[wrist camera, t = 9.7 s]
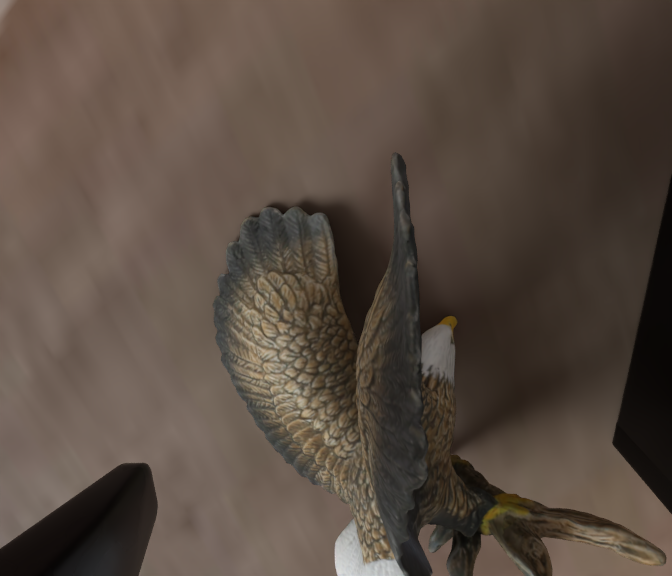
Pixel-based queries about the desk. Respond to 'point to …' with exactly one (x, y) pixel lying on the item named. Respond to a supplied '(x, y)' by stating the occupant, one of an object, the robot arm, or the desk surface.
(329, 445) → the eagle figurine
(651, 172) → the desk surface
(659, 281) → the desk tidy
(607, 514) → the desk surface
